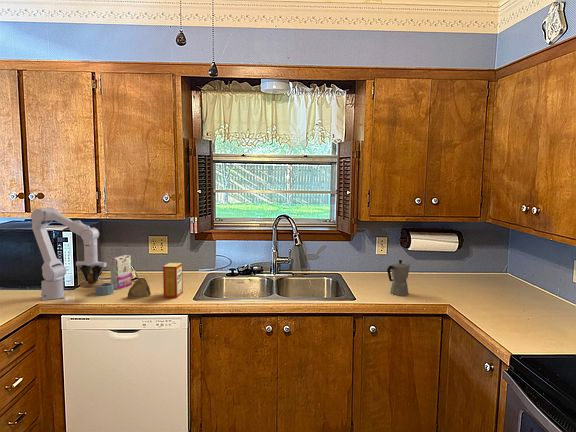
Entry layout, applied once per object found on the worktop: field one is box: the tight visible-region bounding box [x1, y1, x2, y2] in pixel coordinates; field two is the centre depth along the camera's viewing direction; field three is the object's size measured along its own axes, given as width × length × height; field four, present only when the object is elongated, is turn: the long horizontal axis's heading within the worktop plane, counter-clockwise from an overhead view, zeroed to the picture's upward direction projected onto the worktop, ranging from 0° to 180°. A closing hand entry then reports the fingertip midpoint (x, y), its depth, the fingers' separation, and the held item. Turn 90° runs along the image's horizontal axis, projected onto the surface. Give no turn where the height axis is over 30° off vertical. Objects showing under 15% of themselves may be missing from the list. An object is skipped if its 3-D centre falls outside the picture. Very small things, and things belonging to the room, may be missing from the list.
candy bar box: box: [109, 254, 133, 290], centre depth 225 cm, size 11×5×16 cm, turn 161°
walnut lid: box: [79, 272, 105, 289], centre depth 201 cm, size 10×10×6 cm
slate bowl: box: [94, 282, 115, 297], centre depth 212 cm, size 9×9×4 cm
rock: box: [126, 277, 152, 299], centre depth 208 cm, size 11×9×10 cm
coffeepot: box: [386, 259, 411, 297], centre depth 216 cm, size 15×9×18 cm, turn 119°
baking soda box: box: [162, 262, 184, 299], centre depth 210 cm, size 10×6×16 cm
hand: (91, 280), depth 201 cm, fingers closed on walnut lid, 4 cm apart
